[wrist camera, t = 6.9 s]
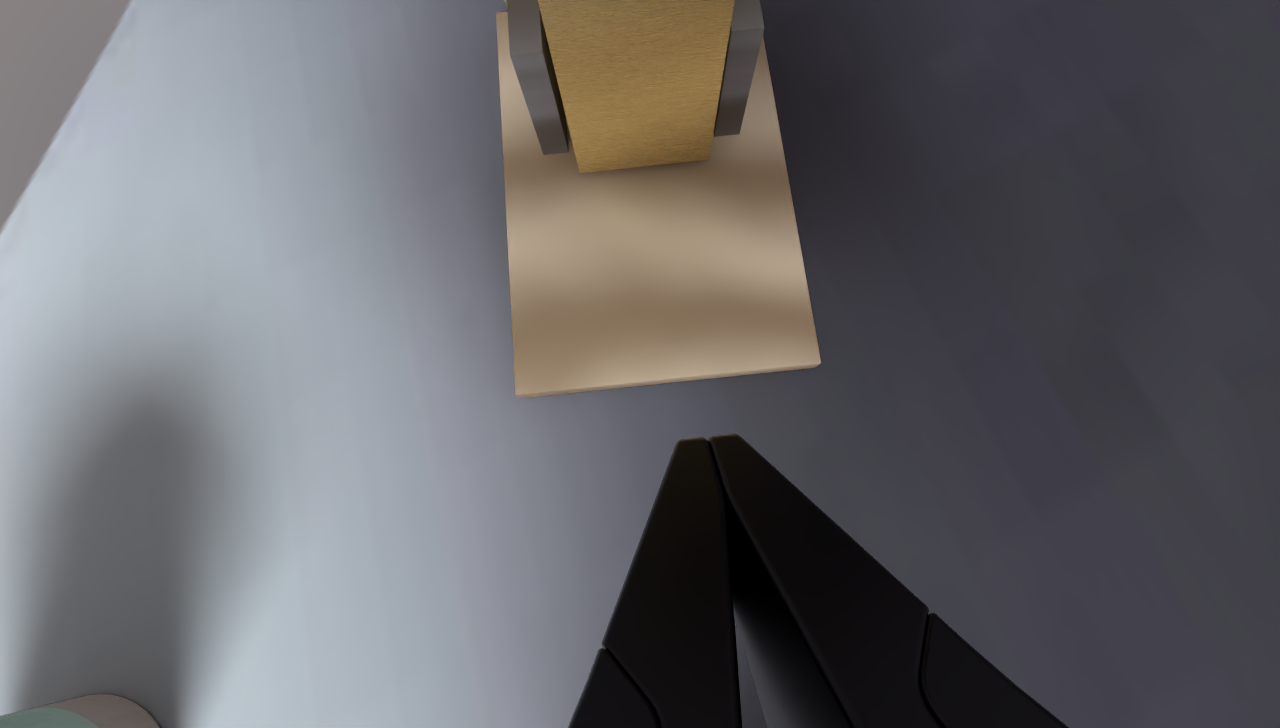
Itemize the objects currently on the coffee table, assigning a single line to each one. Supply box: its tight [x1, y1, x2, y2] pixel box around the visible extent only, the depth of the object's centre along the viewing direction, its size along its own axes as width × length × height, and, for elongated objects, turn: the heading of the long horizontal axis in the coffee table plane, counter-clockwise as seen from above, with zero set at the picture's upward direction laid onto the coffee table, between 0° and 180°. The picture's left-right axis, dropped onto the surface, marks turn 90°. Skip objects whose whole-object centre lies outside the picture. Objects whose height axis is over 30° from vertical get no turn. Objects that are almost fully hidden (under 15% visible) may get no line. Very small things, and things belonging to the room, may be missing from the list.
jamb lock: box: [496, 0, 821, 398], centre depth 18 cm, size 16×11×9 cm, turn 6°
